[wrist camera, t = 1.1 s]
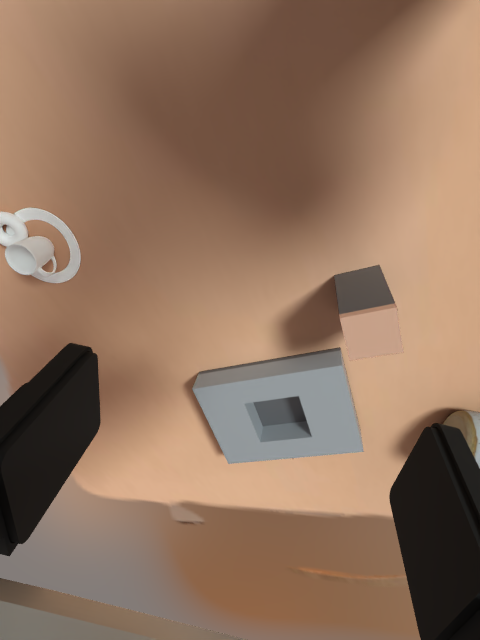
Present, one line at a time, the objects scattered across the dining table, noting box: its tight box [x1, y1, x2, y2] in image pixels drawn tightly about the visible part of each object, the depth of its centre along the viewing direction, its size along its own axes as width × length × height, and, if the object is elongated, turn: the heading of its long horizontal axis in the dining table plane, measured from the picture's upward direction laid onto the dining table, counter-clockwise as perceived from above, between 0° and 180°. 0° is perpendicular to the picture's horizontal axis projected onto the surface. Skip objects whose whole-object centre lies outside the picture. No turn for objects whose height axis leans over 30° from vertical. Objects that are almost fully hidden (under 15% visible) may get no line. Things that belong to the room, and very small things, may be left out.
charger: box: [334, 265, 404, 361], centre depth 31 cm, size 4×4×8 cm
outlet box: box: [192, 348, 364, 464], centre depth 42 cm, size 16×12×3 cm
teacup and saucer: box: [0, 208, 81, 283], centre depth 36 cm, size 9×8×4 cm
